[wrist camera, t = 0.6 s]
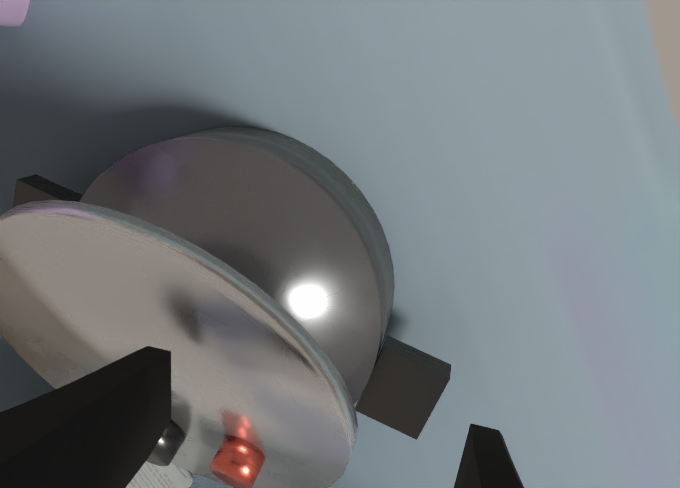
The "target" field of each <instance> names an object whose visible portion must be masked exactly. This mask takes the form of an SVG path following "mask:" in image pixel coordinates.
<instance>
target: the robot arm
mask: <svg viewBox="0 0 680 488" xmlns="http://www.w3.org/2000/svg"><path fill="white" fill-rule="evenodd" d="M170 420H171V351H168V350H164V349H160V348H155V347H151V346H146V347H144V348H142V349H139V350H137V351H135V352H133V353H131V354H129V355H127V356H125V357H123V358H121V359H119V360H116V361H114V362H112V363H110V364H108V365H106V366H104V367H102V368H100V369H98V370H96V371H94V372H92V373H90V374H88V375H86V376H84V377H82V378H79V379H77V380H75V381H73V382H71V383H69V384H67V385H65V386H62V387H60V388H58V389H56V390H53V391H51V392H49V393H46V394H44V395H42V396H39V397H37V398H35V399H33V400H30V401H28V402H26V403H23V404H21V405H18V406H16V407H13V408H11V409H8V410H5V411H3V412H0V488H126V487H127V485H128V484H129V483H130V481H131V480H132V479H133V478H134V476H135V475H136V474H137V472H138V471H139V470H140V468H141V467H142V466H143V464H144V463H145V462H146V460H147V459H148V458H149V456H150V455H151V453H152V451H153V450H154V448H155V446H156V445H157V443H158V441H159V440H160V438H161V436H162V434H163V433H164V431H165V429H166V427H167V426H168V424H169V422H170ZM454 488H524V486H523V484H522V482H521V480H520V478H519V475H518V473H517V471H516V469H515V466H514V464H513V462H512V459H511V457H510V454H509V452H508V449H507V447H506V444H505V441H504V439H503V436H502V434H501V433H500V431H499V430H495V429H491V428H487V427H483V426H479V425H475V424H470V428H469V432H468V436H467V440H466V443H465V447H464V451H463V455H462V459H461V462H460V466H459V470H458V474H457V478H456V481H455V485H454Z"/></svg>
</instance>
